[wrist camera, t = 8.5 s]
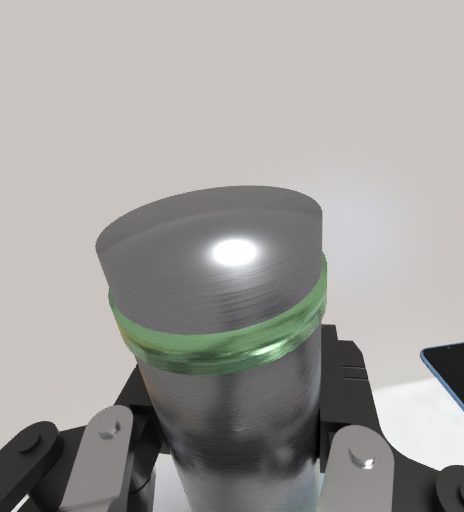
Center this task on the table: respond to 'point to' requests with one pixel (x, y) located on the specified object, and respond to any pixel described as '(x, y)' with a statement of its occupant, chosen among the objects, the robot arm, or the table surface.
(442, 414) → the table surface
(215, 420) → the steel thermos flask
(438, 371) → the smartphone
